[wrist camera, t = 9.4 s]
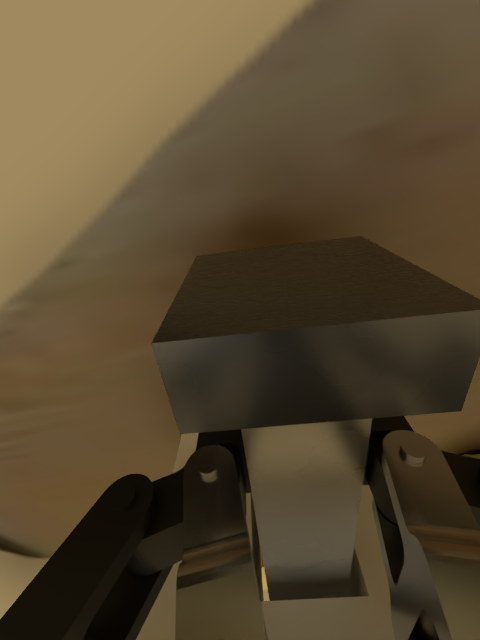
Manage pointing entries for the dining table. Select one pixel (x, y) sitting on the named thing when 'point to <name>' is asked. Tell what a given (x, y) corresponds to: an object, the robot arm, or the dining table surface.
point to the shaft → (312, 381)
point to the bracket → (305, 614)
